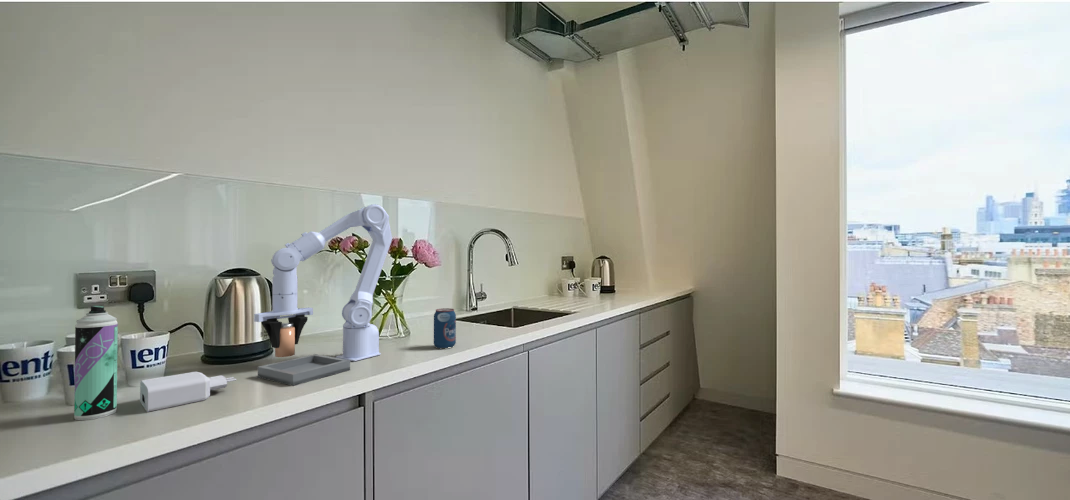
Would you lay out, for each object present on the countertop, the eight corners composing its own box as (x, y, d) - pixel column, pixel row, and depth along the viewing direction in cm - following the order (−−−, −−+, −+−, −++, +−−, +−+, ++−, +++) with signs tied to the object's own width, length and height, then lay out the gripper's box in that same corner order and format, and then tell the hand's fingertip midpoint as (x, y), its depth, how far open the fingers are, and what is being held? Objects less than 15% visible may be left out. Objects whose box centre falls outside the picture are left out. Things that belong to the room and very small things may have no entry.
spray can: (75, 414, 79) (76, 305, 80) (116, 407, 83) (117, 303, 83) (73, 422, 75) (74, 308, 76) (116, 414, 79) (118, 306, 79)
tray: (315, 363, 117) (315, 354, 117) (350, 370, 110) (350, 360, 110) (257, 377, 103) (257, 366, 103) (293, 385, 97) (293, 374, 97)
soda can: (449, 350, 133) (449, 311, 133) (429, 348, 135) (429, 310, 135) (459, 345, 140) (459, 308, 140) (440, 344, 142) (440, 307, 142)
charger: (241, 394, 92) (147, 414, 80) (228, 385, 98) (139, 402, 86) (241, 372, 92) (147, 388, 80) (229, 364, 98) (139, 379, 86)
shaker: (288, 352, 116) (288, 322, 116) (298, 354, 114) (298, 323, 114) (271, 355, 112) (271, 324, 112) (281, 357, 110) (281, 325, 110)
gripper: (302, 291, 122) (301, 339, 122) (247, 295, 109) (247, 349, 109) (317, 292, 118) (317, 341, 118) (263, 297, 106) (263, 352, 105)
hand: (285, 345), depth 113 cm, fingers closed on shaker, 4 cm apart
